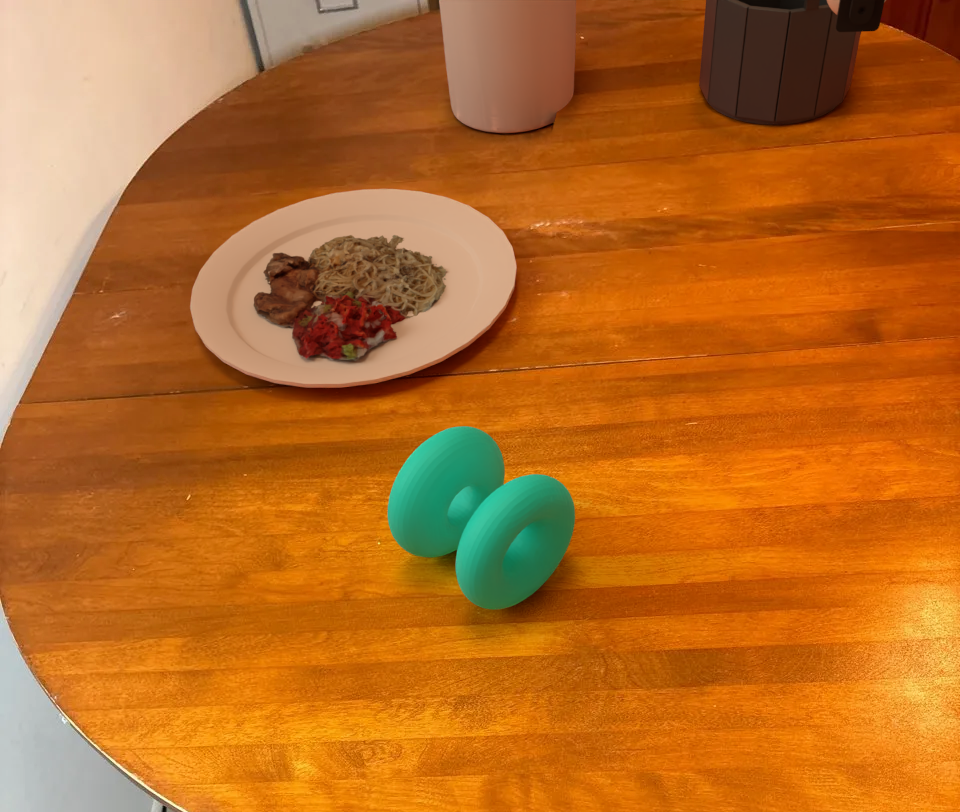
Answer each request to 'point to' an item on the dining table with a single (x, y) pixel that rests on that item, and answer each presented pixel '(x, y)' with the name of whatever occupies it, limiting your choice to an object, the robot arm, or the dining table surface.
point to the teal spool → (481, 517)
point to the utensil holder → (509, 61)
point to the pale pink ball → (834, 5)
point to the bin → (775, 60)
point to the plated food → (353, 288)
